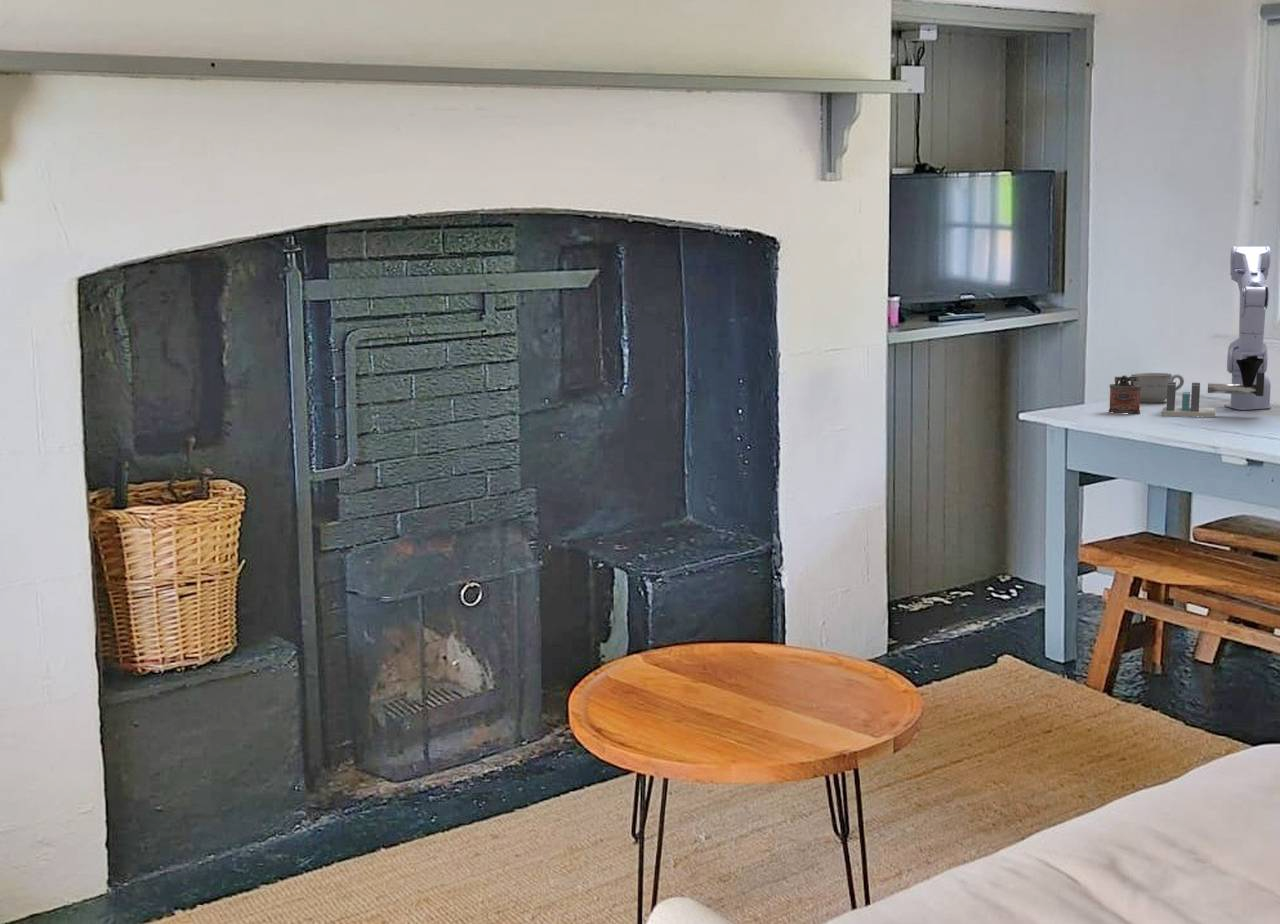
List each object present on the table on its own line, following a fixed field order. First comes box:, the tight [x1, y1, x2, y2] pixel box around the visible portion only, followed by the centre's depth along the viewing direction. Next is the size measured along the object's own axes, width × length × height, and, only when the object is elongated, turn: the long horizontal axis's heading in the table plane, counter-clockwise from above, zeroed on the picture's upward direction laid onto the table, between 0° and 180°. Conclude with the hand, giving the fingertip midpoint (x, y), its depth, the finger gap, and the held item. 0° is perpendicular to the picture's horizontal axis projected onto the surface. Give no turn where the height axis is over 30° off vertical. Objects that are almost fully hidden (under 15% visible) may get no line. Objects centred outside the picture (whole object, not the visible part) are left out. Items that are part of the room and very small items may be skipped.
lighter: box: [1108, 374, 1141, 415], centre depth 413 cm, size 8×3×10 cm, turn 62°
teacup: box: [1131, 372, 1185, 403], centre depth 432 cm, size 14×11×8 cm
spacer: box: [1181, 391, 1191, 411], centre depth 410 cm, size 2×4×4 cm, turn 160°
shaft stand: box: [1161, 381, 1216, 418], centre depth 410 cm, size 13×9×8 cm
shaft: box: [1207, 372, 1266, 396], centre depth 405 cm, size 14×2×6 cm, turn 70°
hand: (1247, 385), depth 404 cm, fingers closed, pressing on shaft
